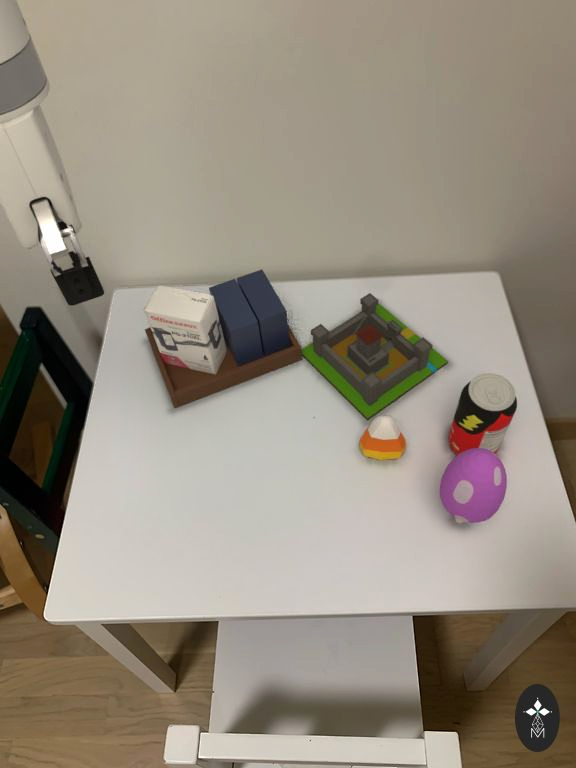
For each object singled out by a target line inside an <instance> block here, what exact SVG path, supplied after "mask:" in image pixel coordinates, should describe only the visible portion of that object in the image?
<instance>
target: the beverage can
mask: <svg viewBox="0 0 576 768" xmlns="http://www.w3.org/2000/svg"><path fill="white" fill-rule="evenodd" d="M516 395H517V394H516V389H515V387H514V385H513V384H512V382H511V381H510V380H509V379H508V378H506V377H504V376H503V375H500V374H497V373H493V372H485V373H480V374H478V375H476V376H474V377H473V378H472V379H471V380H470V381H469V382H468V383H467V384H465V385H464V387H463V388H462V389H461V392H460V395H459V399H458V402H457V406H456V409H455V412H454V415H453V419H452V422H451V426H450V429H449V432H448V442H449V445H450V448H451V449H452V450H453V452H454V454H456V456H457V455H459V454H460V453H462V452H464V451H466V450H468V449H473V448H484V449H487V450H490V451H492V452H493V453H494V454H496V455H497V453H498V451H499V449H500V447H501V445H502V443H503V440H504V438H505V436H506V434H507V432H508V429H509V427H510V425H511V423H512V421H513V418H514V416H515V414H516V412H517V408H518V398H517V396H516Z"/></svg>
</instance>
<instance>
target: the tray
mask: <svg viewBox="0 0 576 768" xmlns="http://www.w3.org/2000/svg"><path fill="white" fill-rule="evenodd" d="M144 331H145V334H146V338H147V340H148V343H149V345H150V348H151V350H152V353H153V356H154V358H155V361H156V364H157V366H158V370H159V372H160V375H161V377H162V380H163V383H164V385H165V388H166V390H167V393H168V396H169V398H170V400H171V403H172V406H173V409H177V408H180V407H183V406H185V405H188V404H190V403H193V402H196V401H199V400H201V399H204V398H206V397H210V396H212V395H214V394H216V393H220V392H221V391H225V390H227V389H230V388H232V387H235V386H237V385H240V384H243V383H245V382H249V381H251V380H253V379H256V378H258V377H259V378H260V377H261V376H264V375H266V374H269V373H273V372H274V371H277V370H279V369H281V368H282V369H283V368H285V367H287V366H290V365H292V364H296V363H298V362H300V361H303V356H302V349H303V348H302V346H301V344H300V343H299V341H298V339H297V337H296V336H295V334H294V333H293V331H292V329H291V327H290V325H289V324H288V331H289V341H290V348H287V349H285V350H282V351H279V352H277V353H274V354H271V355H269V356H266V357H265V356H264V354H263V356H264V357H263V358H261V359H258V360H255V361H253V362H250V363H248V364H245V365H242V366H240V367H238V366H237V363H236V361H235V359H234V357H233V355H232V353H231V351H230V349H229V347H228V345H227V343H226V340H225V338H224V340H225V344H226V348H227V353H226V355H225V357H224V359H223V361H222V363H221V365H220V368H219V370H218V372H217V374H216V375H215V374H211V373H206V372H202V371H197V370H192V369H188V368H184V367H179V366H174V365H170V364H165V363H164V362H163V359H162V357H161V354H160V351H159V349H158V346H157V344H156V341H155V338H154V336H153V333H152V330H151V328H150V327H147V328H144Z"/></svg>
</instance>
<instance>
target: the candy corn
mask: <svg viewBox="0 0 576 768" xmlns="http://www.w3.org/2000/svg"><path fill="white" fill-rule="evenodd" d="M358 446H359V448H360V450H361V453H362V454H363V455H364V457H368V458H371V459H375V460H379V461H385V460H386V461H387V460H394V459H396V460H397V459H400V458H401V457H402V456H403V454H404V452H405V451H406V449H407V441H406V437H405V436H404V434H403V433H402V430H401V428H400V426H399V424H398V422H397V420H396V419H395V418H394V417H393V416H390V415H386V414H384V415H377V417H375V418H373V420H372V421H371V422H370V424H369V425H368V426H367V428H366V430H365V431H364V433H363V434H362V435H361V438H360V440H359V443H358Z"/></svg>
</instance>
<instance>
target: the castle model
mask: <svg viewBox="0 0 576 768" xmlns="http://www.w3.org/2000/svg"><path fill="white" fill-rule="evenodd" d="M359 303H360V305H361V311H359V312H358V313H356V314H355V315H353V316H352V317H350V318H349V319H347V320H346V321H344V322H343V323H340V324H339V325H338V326H336V327H335V328H333V329H331V330H329V329H328V328H326V326H324V324H322V323H320V324H318V325H316V326H315V327H313V328H312V329H310V335H311V336H312V342H311V343H309V344H308V345H306V346H305V347H303V348H301V349H302V358H304V359H305V360H306V361H307V362H308V363H309V364H310V365H311V366H312V367H313V369H315V370H316V371H317V372H318V373H319V374H320V375H321V376H322V377H323V378H324V379H325V380H326V381H327V382H328V383H329V385H331V386H332V387H333V388H334V389H335V390H336V391H337V392H338V393H339V394H340V395H341V396H342V397H343V398H344V399H345V400H346V401H347V402H348V403H349V404H350V405H351V406H352V407H353V408H354V409H355V410H357V412H358V413H359V414H360V415H361V416H362V417H363V418H364V419H365V420H366V421H370V419H372V418H374V416H377V414H379V413H380V412H382V411H383V410H385V409H386V408H388V407H389V406H390V405H392V404H393V403H394V402H396V401H398V400H399V399H400V398H401V397H403V396H404V395H405V394H407V393H408V392H410V391H411V390H413V389H415V387H417V386H419V385H420V384H421V383H423V382H424V381H425V380H427V379H428V378H430V377H431V376H433V375H434V374H435V373H437V372H438V371H439V370H441V369H443V368H444V367H445V366H446V365H448V363H449V361H448V359H447V358H445V357H444V356H443V355H442V354H440V352H438V351H437V350H436V349H434V348H433V346H434V345H433V344H432V343H431V342H430V341H428V340H427V338H425V337H424V336H422V337H420V336H419V335H418V334H417V333H416V332H414V331H413V330H412V329H411V328H410V327H408V326H407V325H405V323H403V322H402V321H401V320H400V319H398V317H396V316H395V315H394V314H393V313H392V312H390V311H389V310H388V309H386V308H385V307H384V306H383V305H382V304H381V303H380V302H379V299H378V298H377V297H376V296H375V295H374V294H372V293H371V292H369V293H367V294H366V295H364V296H362V297H361V298H360V301H359Z"/></svg>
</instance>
